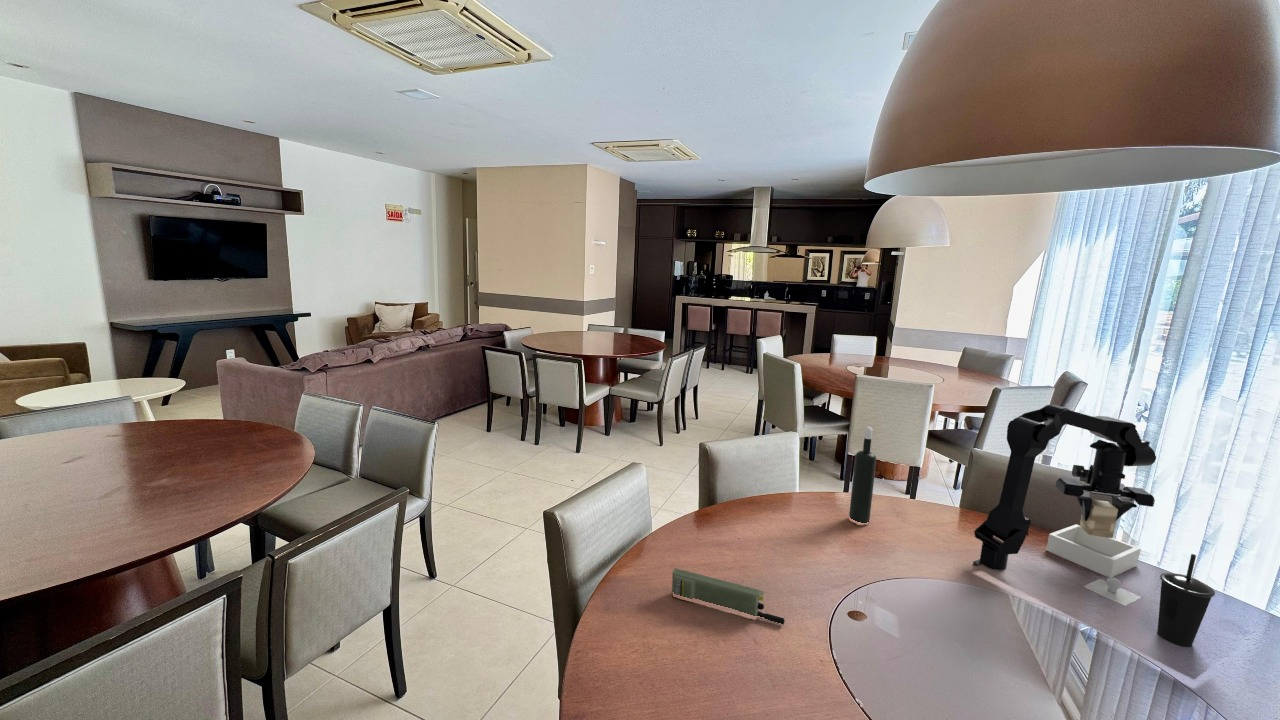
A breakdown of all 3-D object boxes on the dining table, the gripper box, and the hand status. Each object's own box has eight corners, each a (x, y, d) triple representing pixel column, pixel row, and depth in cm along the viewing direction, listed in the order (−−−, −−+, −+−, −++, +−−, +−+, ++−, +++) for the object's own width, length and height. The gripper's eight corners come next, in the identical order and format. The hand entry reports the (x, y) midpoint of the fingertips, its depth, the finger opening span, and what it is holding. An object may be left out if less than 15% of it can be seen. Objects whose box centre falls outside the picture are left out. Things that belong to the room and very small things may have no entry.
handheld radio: (675, 591, 119) (785, 621, 109) (670, 599, 116) (782, 632, 106) (676, 565, 117) (787, 594, 108) (671, 573, 114) (785, 603, 105)
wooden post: (1112, 538, 131) (1118, 509, 130) (1088, 534, 133) (1094, 506, 131) (1102, 529, 136) (1107, 501, 134) (1079, 525, 137) (1084, 498, 136)
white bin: (1109, 582, 127) (1114, 560, 126) (1045, 554, 139) (1049, 533, 138) (1136, 569, 133) (1140, 548, 132) (1072, 543, 145) (1076, 524, 144)
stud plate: (1124, 610, 116) (1128, 592, 115) (1081, 590, 123) (1085, 573, 122) (1140, 601, 119) (1144, 583, 118) (1098, 583, 126) (1102, 565, 125)
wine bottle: (851, 525, 152) (861, 429, 147) (846, 516, 158) (856, 423, 153) (871, 527, 151) (882, 430, 146) (866, 518, 157) (876, 425, 152)
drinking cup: (1207, 662, 100) (1229, 570, 97) (1154, 646, 104) (1174, 557, 101) (1192, 639, 107) (1212, 552, 103) (1142, 625, 111) (1161, 541, 107)
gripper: (1135, 461, 136) (1124, 515, 138) (1051, 451, 142) (1042, 503, 144) (1161, 476, 125) (1149, 534, 128) (1070, 464, 131) (1059, 520, 134)
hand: (1097, 522), depth 134 cm, fingers closed on wooden post, 5 cm apart
